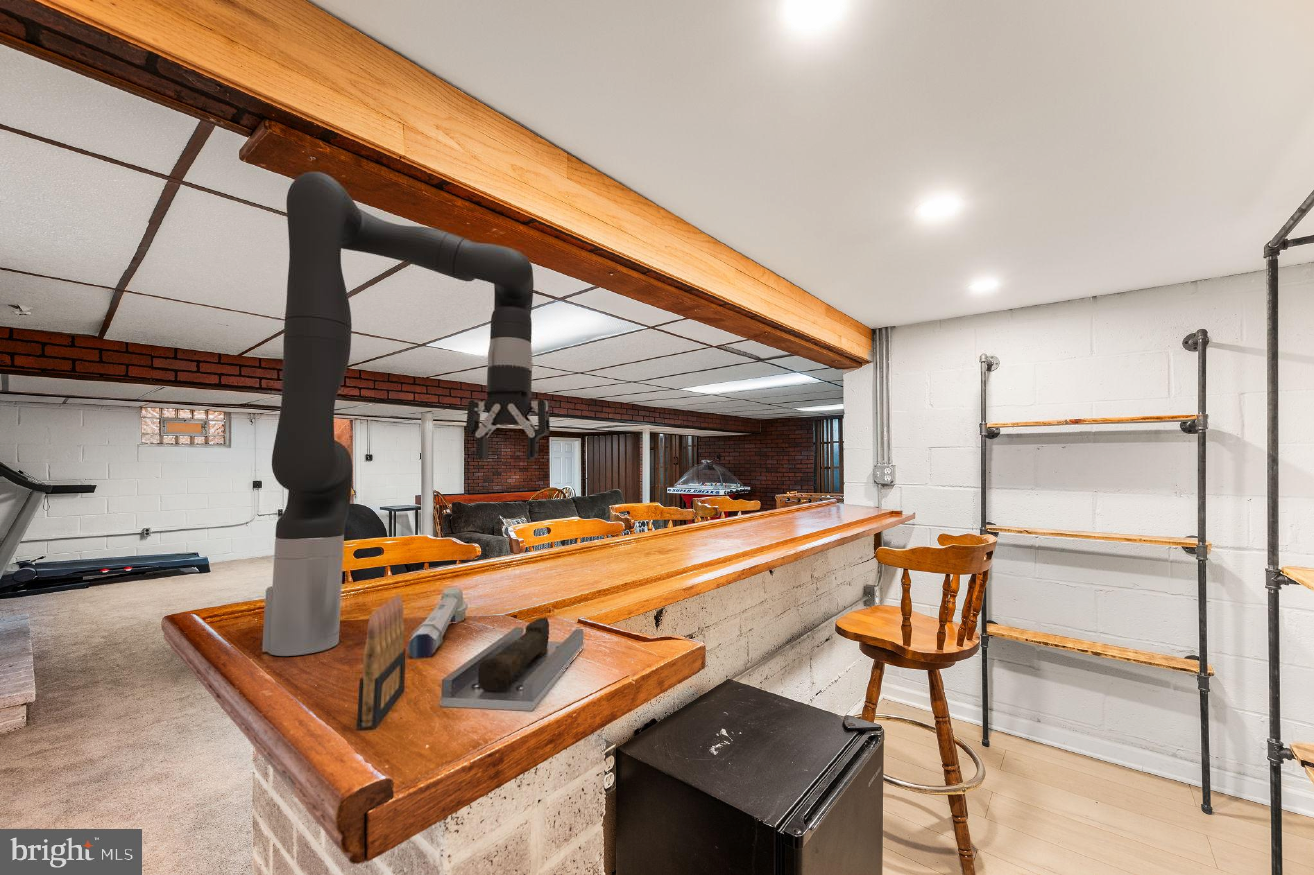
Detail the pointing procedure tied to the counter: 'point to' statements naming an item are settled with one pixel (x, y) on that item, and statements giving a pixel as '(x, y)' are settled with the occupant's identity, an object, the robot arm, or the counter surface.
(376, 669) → the ammunition clip
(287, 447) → the robot arm
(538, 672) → the grey channel tray
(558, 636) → the counter surface
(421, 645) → the grey plastic handle
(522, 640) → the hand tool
